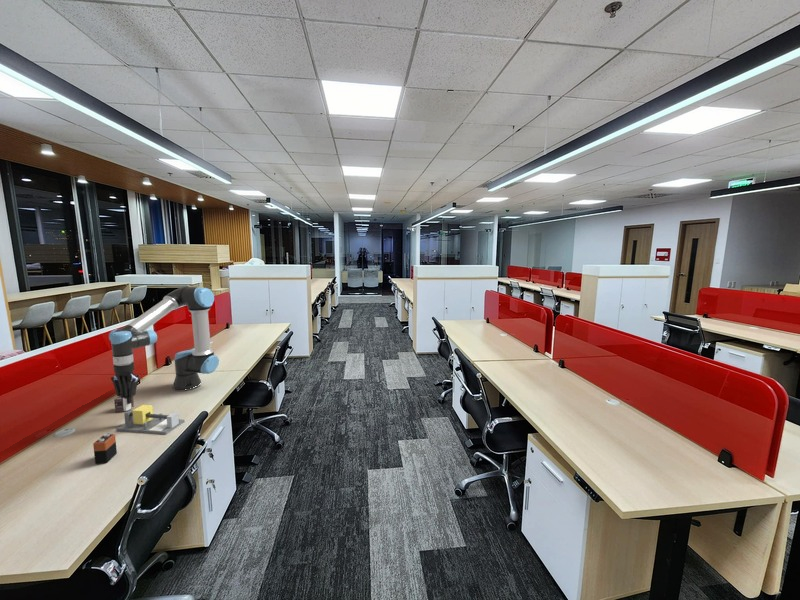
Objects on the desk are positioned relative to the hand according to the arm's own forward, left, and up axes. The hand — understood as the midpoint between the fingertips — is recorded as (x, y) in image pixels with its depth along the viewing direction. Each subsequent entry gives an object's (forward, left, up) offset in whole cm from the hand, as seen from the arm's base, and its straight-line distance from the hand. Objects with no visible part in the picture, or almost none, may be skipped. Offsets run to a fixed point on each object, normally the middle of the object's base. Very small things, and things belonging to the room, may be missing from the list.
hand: (127, 409), depth 161 cm
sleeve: (0, +8, -5) cm, 10 cm away
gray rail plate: (0, +12, -8) cm, 14 cm away
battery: (+26, +15, -8) cm, 31 cm away
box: (-14, -16, -8) cm, 23 cm away
